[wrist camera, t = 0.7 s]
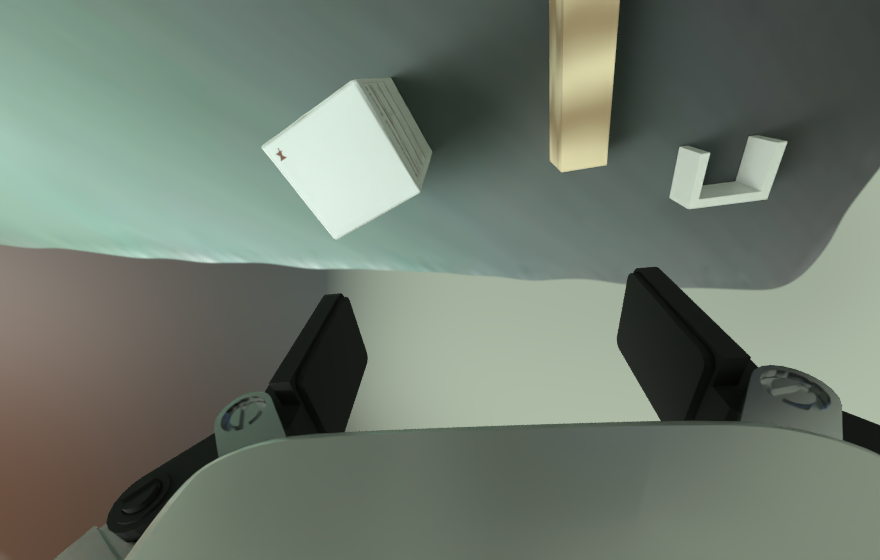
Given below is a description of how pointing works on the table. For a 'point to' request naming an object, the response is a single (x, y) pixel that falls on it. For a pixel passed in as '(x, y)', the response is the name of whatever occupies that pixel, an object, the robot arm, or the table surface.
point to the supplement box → (353, 155)
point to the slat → (581, 80)
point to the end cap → (748, 186)
